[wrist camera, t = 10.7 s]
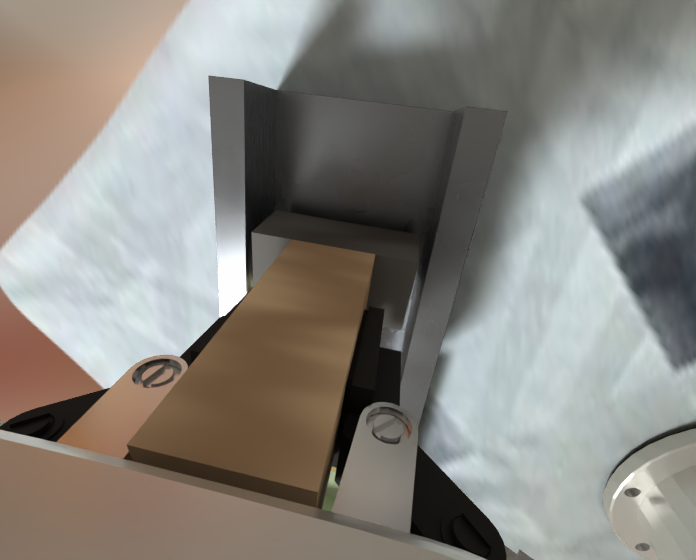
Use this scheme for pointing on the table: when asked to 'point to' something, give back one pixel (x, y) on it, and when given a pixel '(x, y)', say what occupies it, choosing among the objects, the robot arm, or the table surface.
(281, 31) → the table surface
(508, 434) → the table surface
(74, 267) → the table surface
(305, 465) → the t-shaped hammer
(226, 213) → the channel
